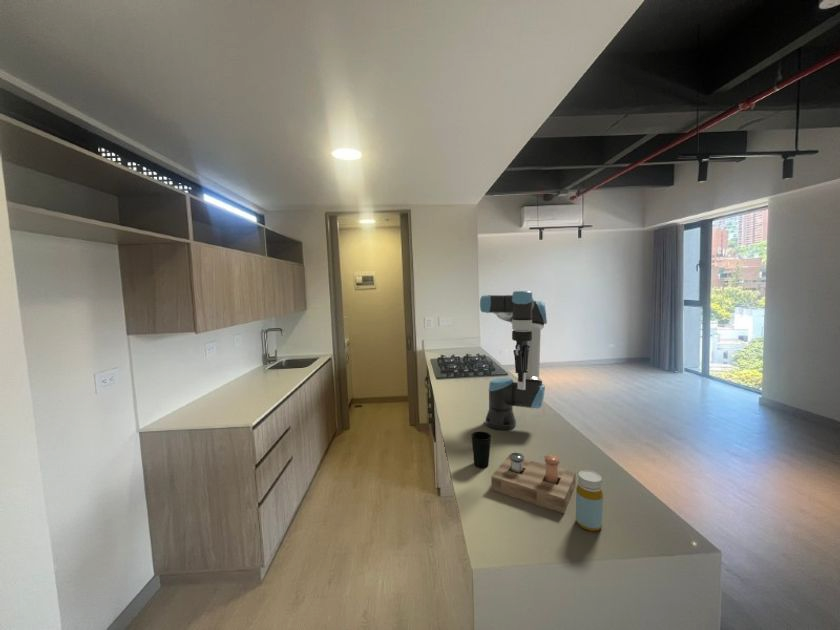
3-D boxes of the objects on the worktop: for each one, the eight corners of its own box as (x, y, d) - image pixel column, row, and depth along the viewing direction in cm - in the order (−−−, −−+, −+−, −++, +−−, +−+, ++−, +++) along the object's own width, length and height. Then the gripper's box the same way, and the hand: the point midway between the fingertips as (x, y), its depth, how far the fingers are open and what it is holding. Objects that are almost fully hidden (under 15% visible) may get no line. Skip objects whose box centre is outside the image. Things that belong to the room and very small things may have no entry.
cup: (476, 471, 135) (476, 440, 134) (468, 461, 142) (468, 432, 141) (494, 467, 137) (494, 438, 136) (485, 458, 144) (485, 430, 143)
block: (509, 467, 137) (509, 454, 137) (575, 485, 124) (575, 472, 123) (491, 489, 122) (491, 476, 122) (564, 514, 109) (564, 498, 108)
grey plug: (512, 475, 130) (512, 451, 129) (525, 478, 127) (525, 454, 126) (508, 481, 126) (508, 457, 125) (521, 485, 123) (521, 460, 122)
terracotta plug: (546, 478, 123) (546, 453, 122) (560, 482, 120) (561, 457, 119) (542, 485, 119) (542, 459, 118) (557, 489, 116) (557, 463, 115)
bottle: (594, 516, 108) (595, 469, 106) (606, 532, 101) (608, 482, 99) (571, 516, 108) (572, 470, 106) (582, 533, 101) (584, 483, 99)
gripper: (517, 327, 145) (517, 383, 147) (506, 331, 135) (506, 391, 137) (536, 328, 141) (535, 386, 143) (526, 333, 130) (525, 395, 132)
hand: (521, 388), depth 140 cm, fingers closed
